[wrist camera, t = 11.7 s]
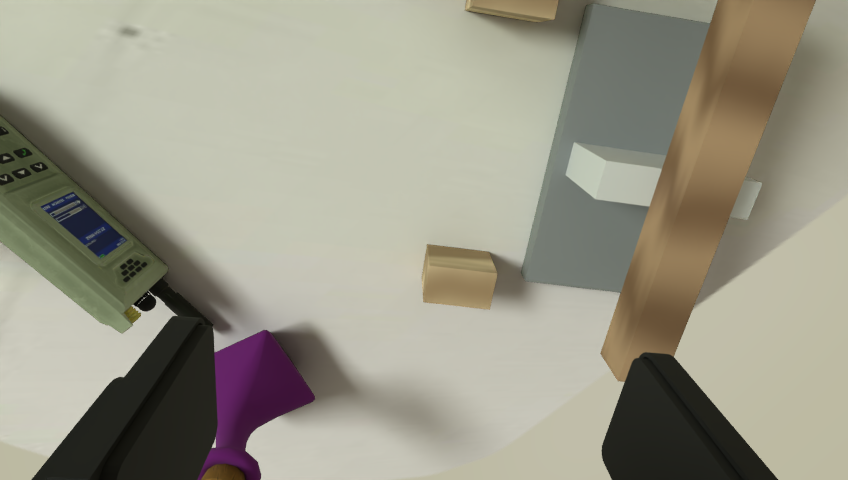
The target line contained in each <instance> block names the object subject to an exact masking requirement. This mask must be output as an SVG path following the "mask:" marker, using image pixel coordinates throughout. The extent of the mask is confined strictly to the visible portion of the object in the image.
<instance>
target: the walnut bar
mask: <svg viewBox="0 0 848 480" xmlns="http://www.w3.org/2000/svg"><path fill="white" fill-rule="evenodd" d="M815 1H816V0H718V2H717V5H716V8H715V11H714V14H713V17H712V20H711V23H710V26H709V29H708V32H707V35H706V38H705V41H704V44H703V47H702V50H701V53H700V56H699V59H698V62H697V65H696V68H695V71H694V74H693V77H692V80H691V83H690V86H689V89H688V92H687V95H686V98H685V101H684V104H683V107H682V110H681V113H680V116H679V119H678V122H677V125H676V128H675V131H674V134H673V137H672V140H671V143H670V146H669V149H668V152H667V155H666V158H665V161H664V164H663V167H662V170H661V173H660V176H659V179H658V182H657V185H656V188H655V191H654V194H653V197H652V200H651V203H650V206H649V209H648V212H647V215H646V218H645V221H644V224H643V227H642V230H641V233H640V236H639V239H638V242H637V245H636V248H635V251H634V254H633V257H632V260H631V263H630V266H629V269H628V272H627V275H626V278H625V282H624V285H623V288H622V291H621V294H620V297H619V300H618V303H617V306H616V309H615V312H614V315H613V318H612V321H611V324H610V327H609V330H608V333H607V336H606V339H605V342H604V345H603V348H602V351H601V355H602V357H603V358H604V360H605V361H606V363H607V365H608V366H609V368H610V369H611V371H612V373H613V374H614V376H615V377H616V379H617V380H618V381H623V382H625V380H626V377H627V375H628V372H629V369H630V366H631V363H632V361H633V360H634V359H635V358H639V356H640V355H641V354H642V353H645V352H650V353H663V354H670V355H672V356H673V357H674V355H675V352H676V349H677V347H678V344H679V342H680V339H681V337H682V334H683V332H684V329H685V327H686V324H687V322H688V319H689V317H690V314H691V312H692V309H693V307H694V304H695V302H696V299H697V297H698V294H699V292H700V289H701V287H702V284H703V282H704V279H705V277H706V274H707V272H708V269H709V267H710V264H711V262H712V259H713V257H714V254H715V252H716V249H717V247H718V244H719V242H720V239H721V237H722V234H723V232H724V229H725V227H726V224H727V222H728V219H729V217H730V214H731V212H732V209H733V207H734V204H735V202H736V199H737V197H738V194H739V192H740V189H741V187H742V184H743V182H744V179H745V177H746V174H747V172H748V169H749V167H750V164H751V162H752V159H753V157H754V154H755V152H756V149H757V147H758V144H759V142H760V139H761V137H762V134H763V131H764V129H765V126H766V124H767V121H768V119H769V116H770V114H771V111H772V109H773V106H774V104H775V101H776V99H777V96H778V94H779V91H780V89H781V86H782V84H783V81H784V79H785V76H786V74H787V71H788V69H789V66H790V64H791V61H792V59H793V56H794V54H795V51H796V49H797V46H798V44H799V41H800V39H801V36H802V34H803V31H804V29H805V26H806V24H807V21H808V19H809V16H810V14H811V11H812V9H813V6H814V4H815Z"/></svg>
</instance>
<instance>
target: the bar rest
mask: <svg viewBox="0 0 848 480" xmlns="http://www.w3.org/2000/svg"><path fill="white" fill-rule="evenodd" d="M558 1H559V0H467V1H466V7H465V10H466V11H472V12H478V13H484V14H490V15H496V16H502V17H508V18H514V19H520V20H526V21H532V22H543V21H549V20H554V19H555V15H556V10H557V6H558ZM497 274H498V273H497V271H496V268H495V266H494V263H493V261H492V259H491V256H490V254H489V252H485V251H477V250H469V249H461V248H453V247H445V246H437V245H428V244H427V249H426V255H425V261H424V267H423V274H422V288H423V302H427V303H436V304H445V305H454V306H462V307H471V308H480V309H489V310H490V305H491V301H492V297H493V292H494V288H495V283H496V279H497Z"/></svg>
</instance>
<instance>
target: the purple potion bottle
mask: <svg viewBox="0 0 848 480" xmlns="http://www.w3.org/2000/svg"><path fill="white" fill-rule="evenodd" d="M214 355H215V376H216V397H217V418H218V427H217V433H216V448H211V450H210V452H209V454H208V457H207V459H206V461H205V463H204V466H203V468H202V470H201V472H200V475H199V477H198V479H197V480H260V479H261V473H260V469H259V465H258V462H257V461H256V460H255V459H254V458H253V457H252V456H251V455H249V454H248V453H247V452H246V451H245V448H246V442H247V440H248V438H249V436H250V434H251V433H252V432H253V431H254V430H255V429H256V428H258V427H260V426H262V425H263V424H265V423H267V422H269V421H271V420H273V419H275V418H276V417H278V416H281V415H283V414H285V413H288V412H290V411H292V410H295V409H297V408H299V407H302V406H304V405H306V404H309V403H311V402H313V401H314V400H315V396H314V394H313V393H312V391H311V390H310V388H309V387H308V385H307V384H306V382H305V381H304V379H303V378H302V376H301V375H300V373H299V372H298V370H297V369H296V367H295V366H294V364H293V363H292V361H291V360H290V359H289V357H288V356H287V354H286V353H285V352H284V350H283V349H282V347H281V346H280V345H279V343H278V342H277V340H276V339H275V338H274V336H273V335H272V334H271V333H270V332H269V331H267V330H263V331H261V332H259V333H257V334H255V335H252V336H250V337H248V338H246V339H244V340H241V341H239V342H237V343H235V344H233V345H230V346H228V347H226V348H224V349H222V350H220V351H217V352H215V353H214Z"/></svg>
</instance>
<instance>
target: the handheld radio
mask: <svg viewBox="0 0 848 480" xmlns="http://www.w3.org/2000/svg"><path fill="white" fill-rule="evenodd" d="M0 241H1V242H2V243H3V244H4V245H5V246H7V247H8V248H9V249H10V250H12V251H13V252H14V253H15V254H17V255H18V256H19V257H20V258H21V259H23V260H24V261H25V262H26V263H28V264H29V265H30V266H31V267H33V268H34V269H35V270H36V271H37V272H39V273H40V274H41V275H42V276H44V277H45V278H46V279H47V280H49V281H50V282H51V283H52V284H53V285H55V286H56V287H57V288H58V289H60V290H61V291H62V292H63V293H64V294H66V295H67V296H68V297H69V298H71V299H72V300H73V301H74V302H76V303H77V304H78V305H79V306H80V307H82V308H83V309H84V310H85V311H87V312H88V313H89V314H90V315H92V316H93V317H94V318H95V319H96V320H98V321H99V322H100V323H103V324H105V325H110V326H111V327H112V328H114V329H115V330H117V331H118V332H120V333H124V332H125V331H126V330H128V329H129V328H130V327H131V326H133V324H132V323H134V322H135V321H136V320H137V319H138V318H139V317H140V316H141V315H140V314H141V313H138V311H136V309H135V308H134V309H133V307H132V305H134V306H136V307H138V308H139V309H140V310H142V311H149V310H152V309H153V308H154V307H155V305H156V299H155V298H154V297H153V296H152V295H151V294H150V293H149V292H148V291H150V292H151V293H152V294H153V295H154V296H157V297H159V298H160V299H161V300H162V301H163V302H164V303H165V305H166V306H167V307H169V308H170V309H171V310H172V311H173V312H174V313H175V314H176V315H178V316H183V317H196V318H202V319H203V320H204V322H205V325H209V326H212V327H213V324H212V323H211V322H210V321H209V320H208V319H207V318H206V317H204V316H203V315H202V314H201V313H200V312H199V311H198V310H197V309H195V308H194V307H193V306H192V305H191V304H190V303H189V302H188V301H186V300H185V299H184V298H183V297H182V296H181V295H180V294H179V293H175V292H174V291H173V290H172V289H171V288H170V287H169V286H168V284H167V283H166V282H165V281H164V280H163V279H162V278H161V277H163V276H164V275H165V274H166V273H167V272H168V267H167V266H166V265H165V264H164V263H163V262H162V261H161V260H160V259H159V258H158V257H157V256H155V255H154V254H153V253H152V252H151V251H150V250H149V249H148V248H147V247H145V246H144V245H143V244H142V243H141V242H140V241H139V240H138V239H137V238H136V237H134V236H133V235H132V234H131V233H130V232H129V231H128V230H127V229H126V228H124V227H123V226H122V225H121V224H120V223H119V222H118V221H117V220H116V219H115V218H113V217H112V216H111V215H110V214H109V213H108V212H107V211H106V210H105V209H103V208H102V207H101V206H100V205H99V204H98V203H97V202H96V201H95V200H94V199H92V198H91V197H90V196H89V195H88V194H87V193H86V192H85V191H84V190H82V189H81V188H80V187H79V186H78V185H77V184H76V183H75V182H74V181H73V180H71V179H70V178H69V177H68V176H67V175H66V174H65V173H64V172H63V171H61V170H60V169H59V168H58V167H57V166H56V165H55V164H54V163H53V162H52V161H50V160H49V159H48V158H47V157H46V156H45V155H44V154H43V153H42V152H40V151H39V150H38V149H37V148H36V147H35V146H34V145H33V144H32V143H30V142H29V141H28V140H27V139H26V138H25V137H24V136H23V135H22V134H21V133H19V132H18V131H17V130H16V129H15V128H14V127H13V126H12V125H11V124H9V123H8V122H7V121H6V120H5V119H4V118H3V117H2V116H1V115H0ZM148 293H149V294H150V295H148ZM143 297H144V298H145V297H146V298H145V299H143ZM140 301H141V302H140ZM138 303H139V304H138Z"/></svg>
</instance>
